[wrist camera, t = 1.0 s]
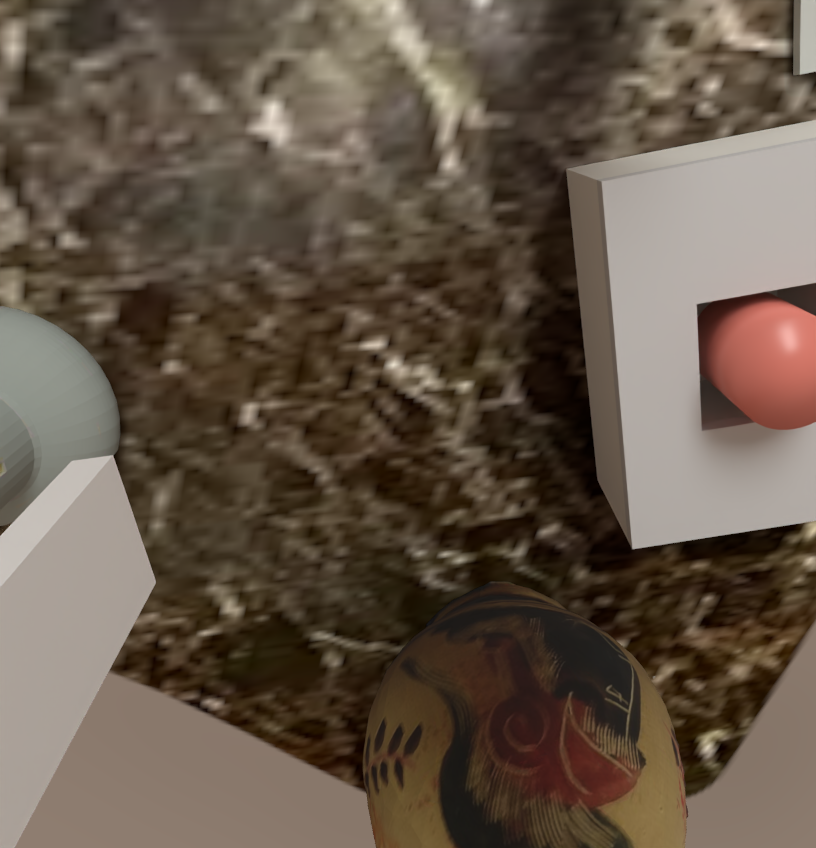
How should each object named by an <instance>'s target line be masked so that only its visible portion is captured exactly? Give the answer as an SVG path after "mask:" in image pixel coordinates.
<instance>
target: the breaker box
mask: <svg viewBox="0 0 816 848" xmlns="http://www.w3.org/2000/svg"><path fill="white" fill-rule="evenodd" d="M566 173H567V183H568V193H569V203H570V213H571V223H572V233H573V243H574V252H575V262H576V272H577V282H578V292H579V302H580V312H581V322H582V332H583V342H584V352H585V362H586V372H587V382H588V392H589V401H590V411H591V421H592V431H593V441H594V451H595V461H596V471H597V480H598V482H599V484H600V486H601V488H602V490H603V492H604V494H605V496H606V498H607V500H608V502H609V504H610V506H611V508H612V510H613V512H614V514H615V516H616V518H617V520H618V522H619V524H620V526H621V528H622V530H623V532H624V534H625V536H626V538H627V540H628V542H629V544H630V546H631V547H632V549H637V548H644V547H650V546H657V545H663V544H670V543H676V542H683V541H689V540H695V539H702V538H708V537H715V536H721V535H728V534H734V533H741V532H747V531H753V530H760V529H766V528H773V527H779V526H786V525H792V524H799V523H805V522H811V521H816V422H814V423H812V424H810V425H807V426H804V427H801V428H797V429H790V430H777V429H771V428H767V427H764V426H762V425H759V424H757V423H756V422H754V421H753V420H751V419H750V418H749V417H748V416H747V415H746V414H744V413H743V412H742V411H741V410H740V409H739V408H738V407H737V406H736V405H735V404H733V403H732V402H731V401H730V400H729V399H728V398H727V397H726V396H725V395H723V394H722V393H721V392H720V391H719V390H718V389H717V388H716V387H715V386H713V385H712V384H711V383H710V382H709V381H708V380H707V379H706V378H705V377H703V376H702V375H701V374H700V373H699V349H698V323H697V318H698V316H699V315H700V314H701V312H702V311H703V310H704V309H705V308H706V307H707V306H708V305H709V304H710V303H711V302H712V301H717V300H722V299H728V298H734V297H739V296H745V295H750V294H756V293H762V292H768V293H771V294H773V295H775V296H777V297H779V298H781V299H783V300H785V301H787V302H789V303H791V304H793V305H795V306H797V307H799V308H801V309H803V310H805V311H807V312H809V313H811V314H813V315H815V316H816V120H813V121H808V122H803V123H798V124H793V125H788V126H783V127H777V128H772V129H767V130H762V131H757V132H752V133H747V134H742V135H736V136H731V137H726V138H721V139H716V140H711V141H706V142H701V143H696V144H690V145H685V146H680V147H675V148H670V149H665V150H660V151H655V152H649V153H644V154H639V155H634V156H629V157H624V158H619V159H614V160H609V161H603V162H598V163H593V164H588V165H583V166H578V167H573V168H568V169H566Z"/></svg>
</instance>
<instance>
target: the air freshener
mask: <svg viewBox="0 0 816 848" xmlns="http://www.w3.org/2000/svg"><path fill="white" fill-rule="evenodd" d="M119 441H120V416H119V411H118V406H117V401H116V398H115V395H114V393H113V390H112V388H111V385H110V383H109V381H108V379H107V377H106V376H105V374H104V372H103V371H102V369H101V367H100V366H99V364H98V363H97V362H96V361H95V359H94V358H93V357H92V356H91V354H90V353H89V352H88V351H87V350H86V349H85V348H84V347H83V346H82V345H81V344H80V343H79V342H78V341H77V340H76V339H74V338H73V337H72V336H70V335H69V334H68V333H66V332H65V331H63V330H62V329H61V328H59V327H58V326H56V325H54V324H52V323H50V322H48V321H46V320H44V319H43V318H41V317H38V316H36V315H33V314H30V313H27V312H24V311H22V310H18V309H13V308H8V307H3V306H0V526H4V525H7V524H10V523H12V522H14V521H15V520H16V519H17V518H18V517H19V516H20V515H21V514H22V513H23V512H24V511H25V509H26V508H27V507H28V506H29V505H30V504H31V503H32V502H33V501H34V500H35V499H36V498H37V497H38V496H39V495H40V494H41V493H42V492H43V491H44V490H45V489H46V487H47V486H48V485H49V484H50V483H51V482H52V481H53V480H54V479H55V478H56V477H57V476H58V475H59V474H60V473H61V472H62V471H63V470H64V469H65V468H66V467H67V465H68V464H69V463H70V462H71V461H74V460H81V459H89V458H96V457H103V456H110V455H114V454H115V453H116V452H117V450H118V447H119Z"/></svg>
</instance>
